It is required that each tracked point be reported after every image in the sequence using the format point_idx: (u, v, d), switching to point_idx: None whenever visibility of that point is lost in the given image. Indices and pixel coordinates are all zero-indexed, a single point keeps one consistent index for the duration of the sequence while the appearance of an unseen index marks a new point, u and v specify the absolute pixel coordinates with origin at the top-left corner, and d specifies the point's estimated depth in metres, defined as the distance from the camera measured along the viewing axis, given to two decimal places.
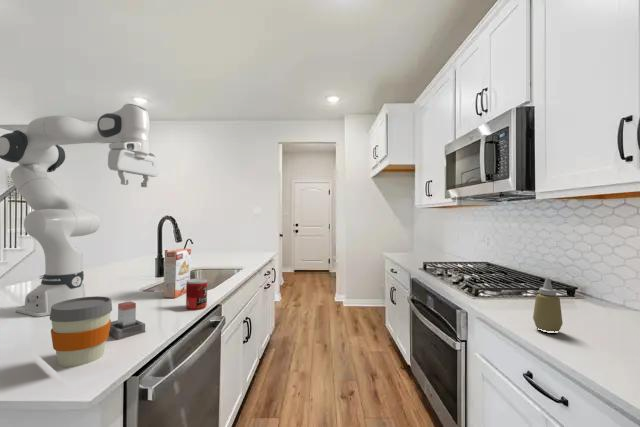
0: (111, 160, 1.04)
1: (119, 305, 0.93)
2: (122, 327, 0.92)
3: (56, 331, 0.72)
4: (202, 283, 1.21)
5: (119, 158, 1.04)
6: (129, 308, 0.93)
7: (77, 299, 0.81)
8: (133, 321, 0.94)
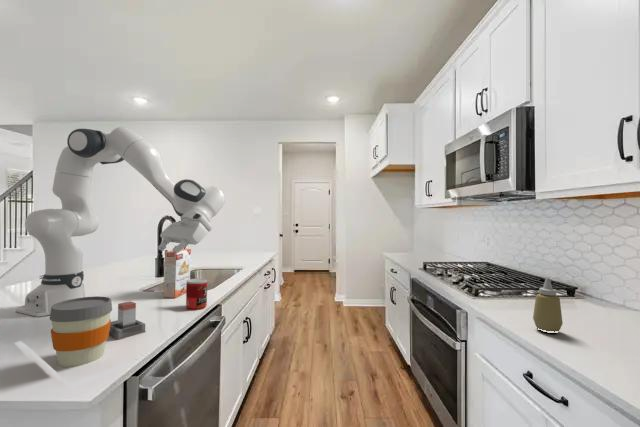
0: (198, 233, 1.03)
1: (119, 305, 0.93)
2: (122, 327, 0.92)
3: (56, 331, 0.72)
4: (202, 283, 1.21)
5: None
6: (129, 308, 0.93)
7: (77, 299, 0.81)
8: (133, 321, 0.94)
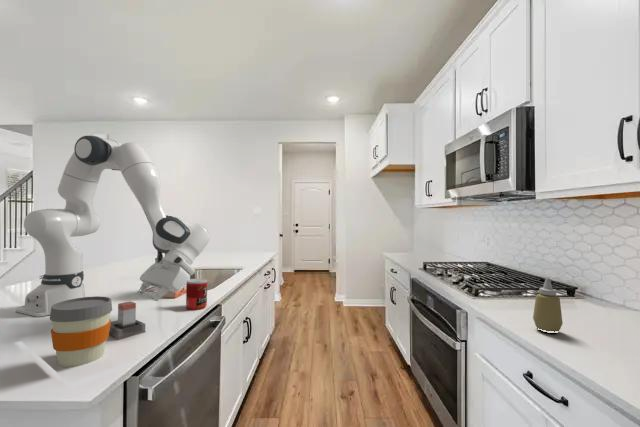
0: (178, 280, 0.97)
1: (119, 305, 0.93)
2: (122, 327, 0.92)
3: (56, 331, 0.72)
4: (202, 283, 1.21)
5: None
6: (129, 308, 0.93)
7: (77, 299, 0.81)
8: (133, 321, 0.94)
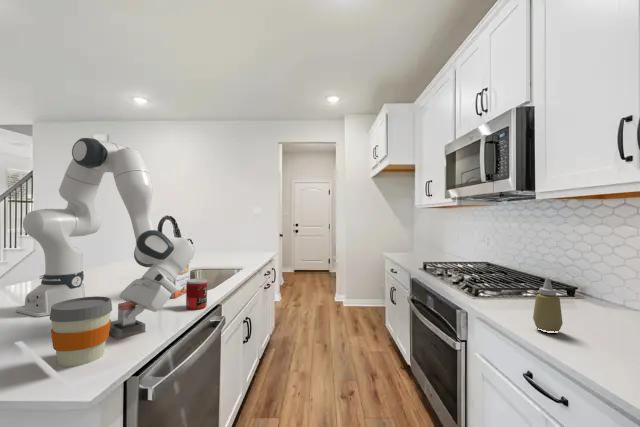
0: (158, 299, 0.92)
1: (119, 305, 0.93)
2: (122, 327, 0.92)
3: (56, 331, 0.72)
4: (202, 283, 1.21)
5: None
6: (129, 308, 0.93)
7: (77, 299, 0.81)
8: (133, 321, 0.94)
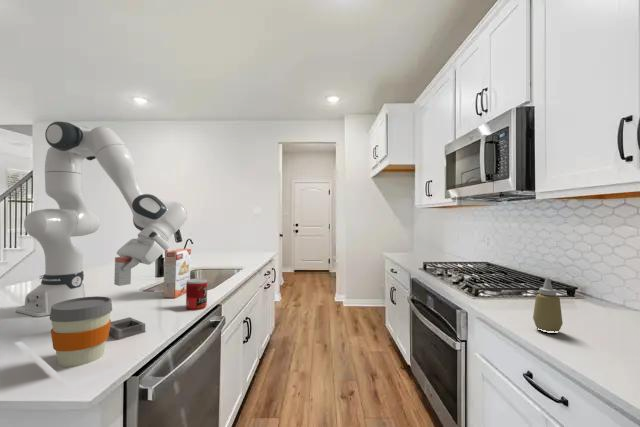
0: (152, 253, 1.00)
1: (116, 258, 1.01)
2: (118, 278, 1.00)
3: (56, 331, 0.72)
4: (202, 283, 1.21)
5: None
6: (125, 261, 1.01)
7: (77, 299, 0.81)
8: (128, 273, 1.02)
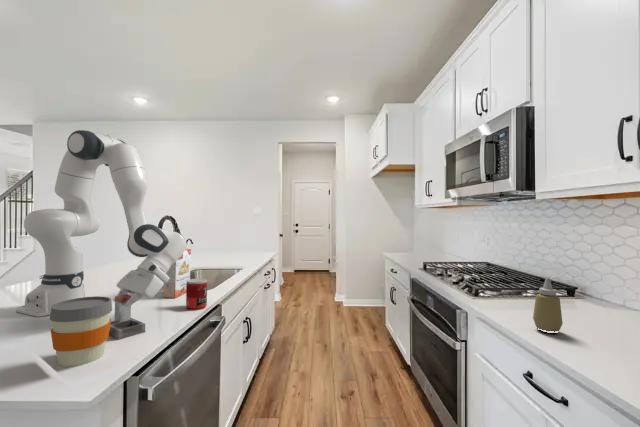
0: (152, 288, 1.00)
1: (116, 297, 1.01)
2: (118, 317, 1.00)
3: (56, 331, 0.72)
4: (202, 283, 1.21)
5: None
6: (125, 300, 1.01)
7: (77, 299, 0.81)
8: (128, 312, 1.02)
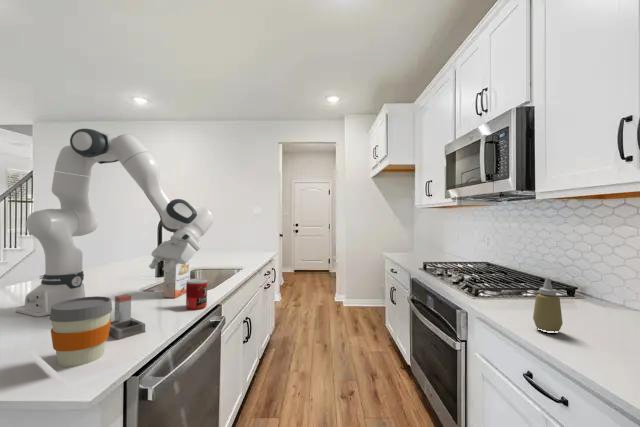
0: (186, 254, 1.10)
1: (116, 297, 1.01)
2: (118, 317, 1.00)
3: (56, 331, 0.72)
4: (202, 283, 1.21)
5: None
6: (125, 300, 1.01)
7: (77, 299, 0.81)
8: (128, 312, 1.02)
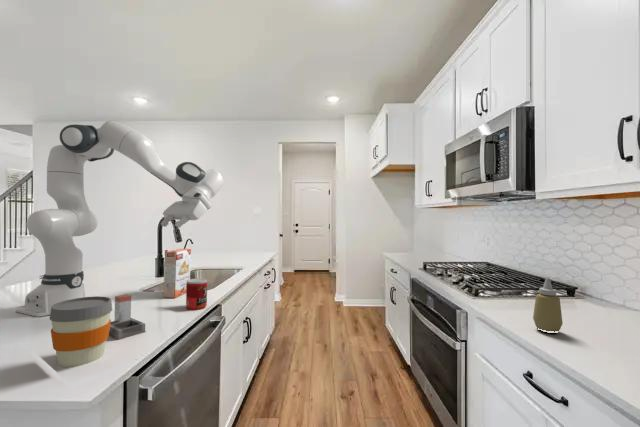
0: (198, 210, 1.12)
1: (116, 297, 1.01)
2: (118, 317, 1.00)
3: (56, 331, 0.72)
4: (202, 283, 1.21)
5: None
6: (125, 300, 1.01)
7: (77, 299, 0.81)
8: (128, 312, 1.02)
